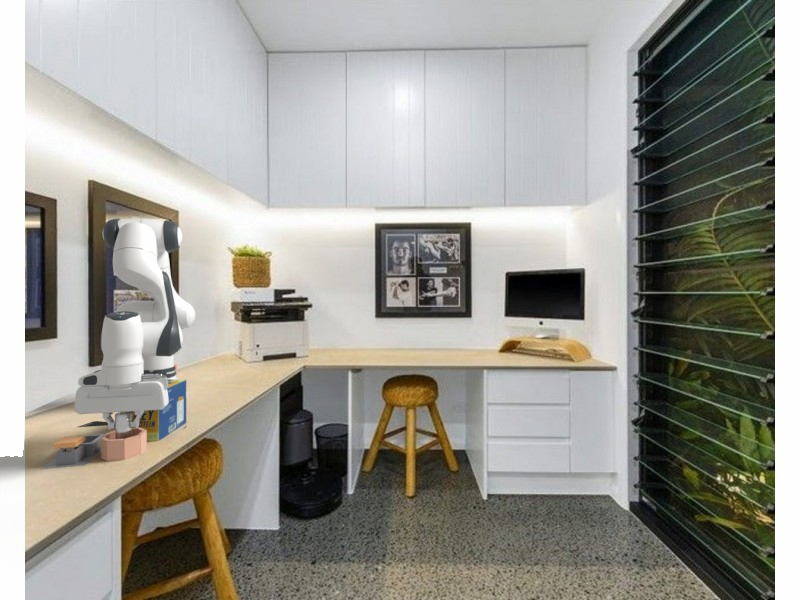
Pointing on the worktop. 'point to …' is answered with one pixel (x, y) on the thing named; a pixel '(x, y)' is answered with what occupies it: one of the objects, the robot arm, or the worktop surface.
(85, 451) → the gray square socket tray
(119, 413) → the cell
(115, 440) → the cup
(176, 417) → the protein box
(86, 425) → the phone
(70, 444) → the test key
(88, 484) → the worktop surface
